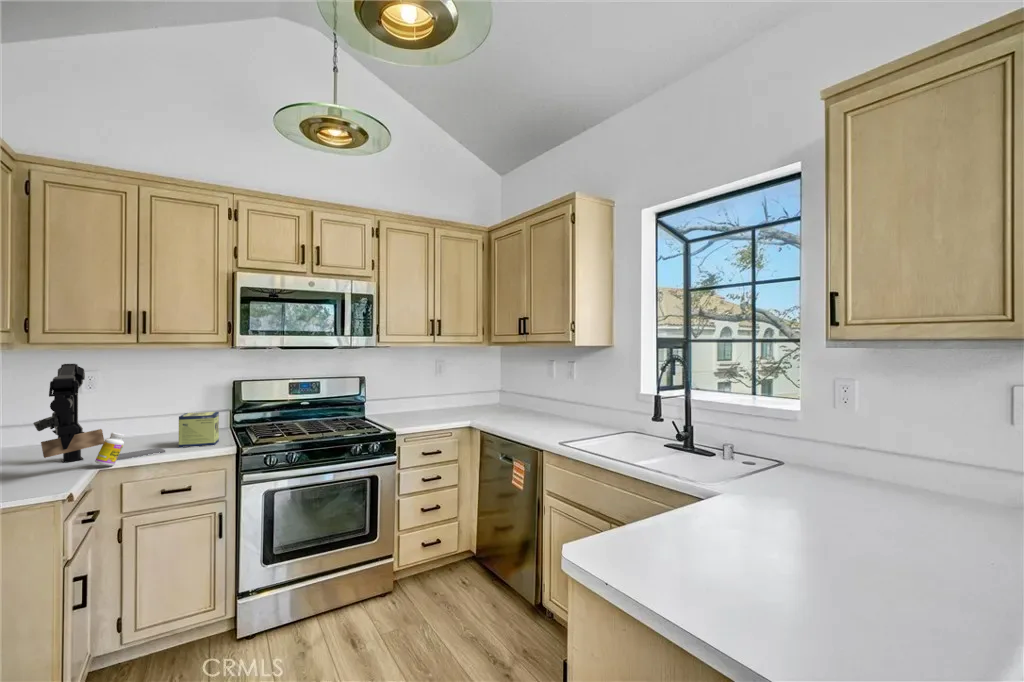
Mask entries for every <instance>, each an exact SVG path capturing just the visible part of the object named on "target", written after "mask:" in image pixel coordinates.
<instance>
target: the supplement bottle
mask: <svg viewBox="0 0 1024 682" xmlns="http://www.w3.org/2000/svg"><path fill="white" fill-rule="evenodd" d="M125 436H126V434H123V433H119V432H111V433H110V436H109V437H108V438H106V439H104V442H105V444H101V448H100V449H99V452H98V454H97V456H96V458H95V460H94V463H95V464H99V465H102V466H111V467H112V466H114V465H115V464H116V462H117V461H118V460H117V458H118V456H119V454H121V451H122V449H123V447H124V445H125V442H124V440H123V439H124V438H125Z"/></svg>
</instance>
